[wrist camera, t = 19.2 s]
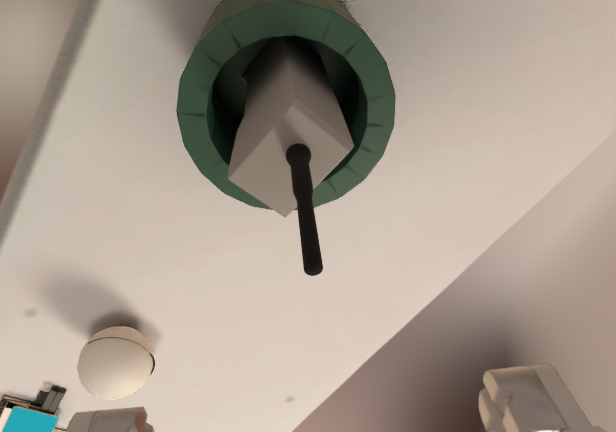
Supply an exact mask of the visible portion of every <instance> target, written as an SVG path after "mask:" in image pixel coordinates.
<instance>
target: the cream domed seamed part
mask: <svg viewBox="0 0 616 432" xmlns="http://www.w3.org/2000/svg"><path fill="white" fill-rule="evenodd" d="M132 326H133V323H132ZM154 367H155V360H154V355H153V349H152V347H151V344H150V342H149V341H148V339H147V337H145V336H144V335H143V334H142V333H141V332H139V331H137V330H135V329H133V328H130V327H126V326H115V327H110V328H106V329H104V330H102V331H100V332H98V333H97V334H95V335H94V336H92V337H91V338H90V339H89V341H88V342H87V343H86V344H85V346H84V347H83V349H82V350H81V353H80V357H79V362H78V367H77V369H78V373H79V377H80V381H81V383H82V385H83V386H84V387H85V388H86V390H87V391H88V392H89V393H90V394H92V395H93V396H95V397H97V398H100V399H104V400H118V399H122V398H125V397H127V396H130V395H132V394H134V393H136V392H137V391H138V390H139V389H140V388H141V387H142V386H143V385H144V384H145V383H146V382H147V380H148V378H149V376H150V374H151V373H152V372H153V370H154Z"/></svg>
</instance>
